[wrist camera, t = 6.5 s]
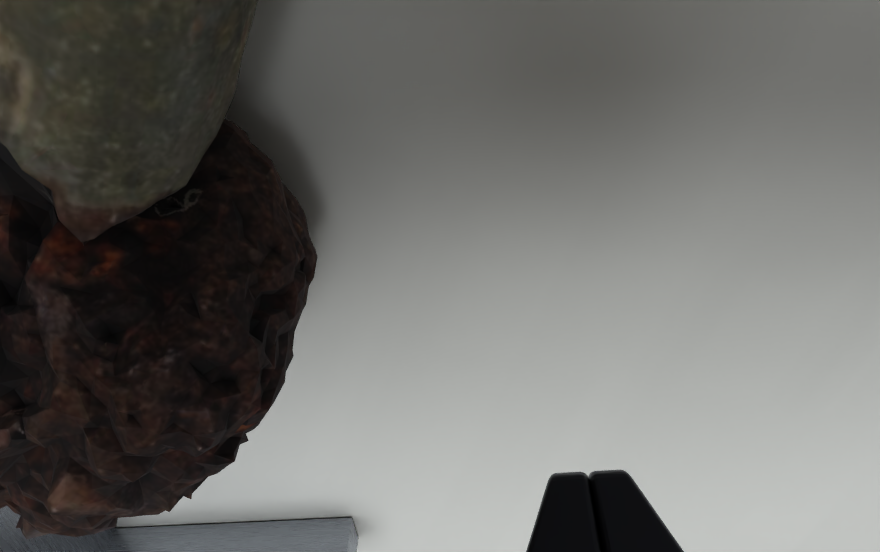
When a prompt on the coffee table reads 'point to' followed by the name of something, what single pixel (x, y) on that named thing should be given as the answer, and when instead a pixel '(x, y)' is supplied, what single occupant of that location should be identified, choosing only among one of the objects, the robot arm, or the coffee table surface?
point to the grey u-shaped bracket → (192, 537)
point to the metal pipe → (134, 259)
